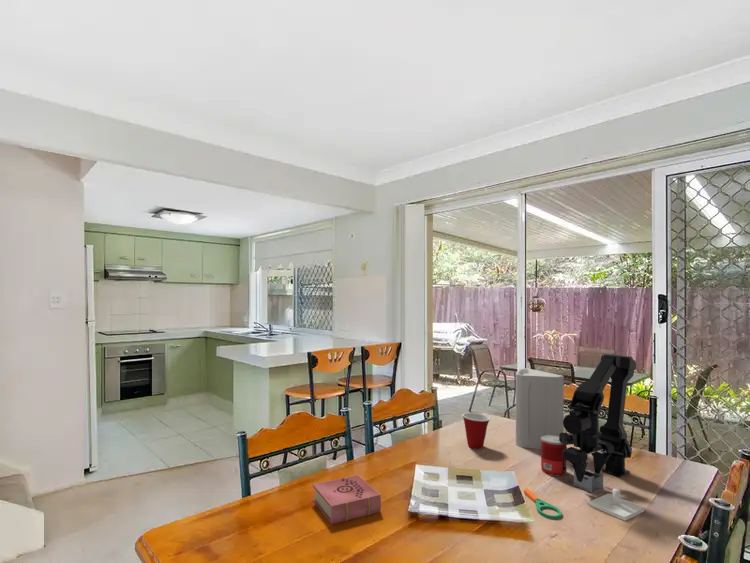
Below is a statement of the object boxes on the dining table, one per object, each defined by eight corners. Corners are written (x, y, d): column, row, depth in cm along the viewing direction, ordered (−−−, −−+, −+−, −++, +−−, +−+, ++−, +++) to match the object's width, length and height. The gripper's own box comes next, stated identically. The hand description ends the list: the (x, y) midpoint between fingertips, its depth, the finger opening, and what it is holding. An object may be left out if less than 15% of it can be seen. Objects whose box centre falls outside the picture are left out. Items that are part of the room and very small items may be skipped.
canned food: (568, 477, 143) (568, 443, 143) (543, 475, 145) (543, 441, 145) (563, 468, 150) (563, 436, 151) (539, 466, 152) (539, 434, 152)
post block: (608, 496, 130) (608, 479, 130) (644, 511, 121) (644, 492, 121) (589, 505, 124) (589, 487, 124) (625, 521, 116) (625, 501, 116)
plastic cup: (496, 449, 168) (496, 418, 168) (472, 452, 164) (472, 420, 164) (479, 440, 178) (479, 410, 178) (456, 443, 174) (456, 413, 174)
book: (332, 527, 112) (332, 507, 112) (312, 501, 126) (312, 484, 126) (381, 514, 119) (381, 495, 119) (357, 491, 132) (357, 474, 132)
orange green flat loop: (566, 519, 117) (566, 513, 117) (546, 521, 116) (546, 515, 116) (535, 493, 132) (535, 488, 132) (517, 495, 131) (517, 489, 131)
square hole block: (584, 481, 140) (584, 468, 140) (603, 488, 135) (603, 475, 135) (573, 485, 137) (573, 472, 137) (592, 493, 132) (592, 479, 132)
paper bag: (500, 438, 180) (501, 370, 181) (527, 433, 187) (527, 368, 188) (537, 454, 163) (537, 379, 164) (564, 448, 170) (564, 376, 171)
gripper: (581, 417, 148) (581, 463, 148) (547, 425, 138) (547, 475, 138) (614, 425, 139) (614, 475, 139) (580, 435, 129) (580, 489, 129)
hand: (588, 478), depth 136 cm, fingers open, 9 cm apart
